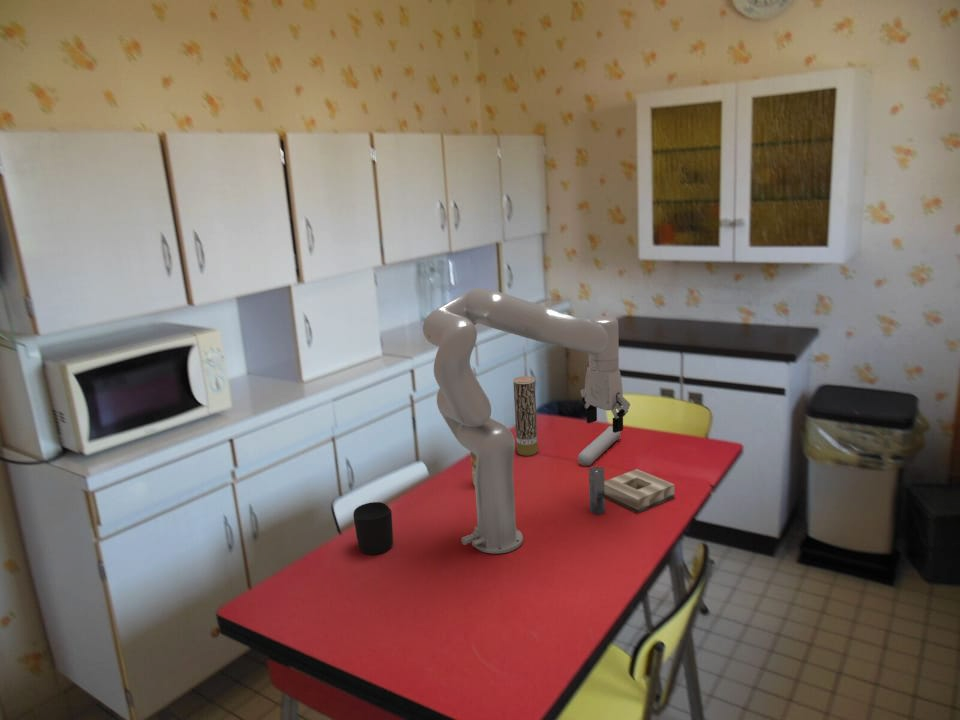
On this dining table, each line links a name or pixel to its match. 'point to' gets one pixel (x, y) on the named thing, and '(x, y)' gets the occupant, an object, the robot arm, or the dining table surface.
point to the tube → (598, 446)
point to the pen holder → (373, 528)
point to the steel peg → (597, 490)
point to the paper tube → (525, 415)
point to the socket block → (638, 490)
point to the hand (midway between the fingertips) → (604, 426)
